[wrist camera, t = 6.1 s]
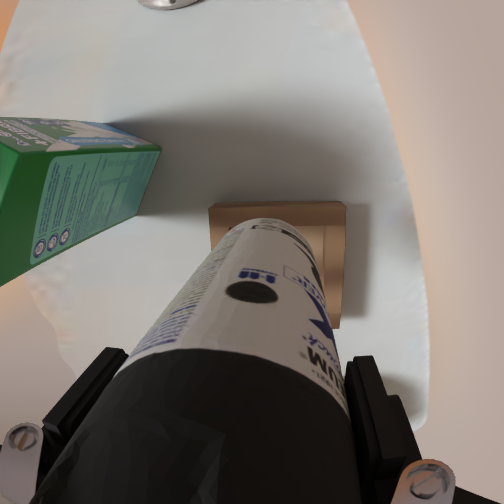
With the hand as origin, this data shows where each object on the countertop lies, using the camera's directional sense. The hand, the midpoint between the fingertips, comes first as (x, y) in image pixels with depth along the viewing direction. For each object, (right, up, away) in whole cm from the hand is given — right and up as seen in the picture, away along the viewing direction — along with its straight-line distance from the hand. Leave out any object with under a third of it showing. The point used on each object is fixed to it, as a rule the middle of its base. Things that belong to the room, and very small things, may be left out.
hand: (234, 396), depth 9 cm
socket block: (+4, +3, +28) cm, 29 cm away
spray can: (+1, +4, +12) cm, 13 cm away
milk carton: (-16, +15, +27) cm, 35 cm away
